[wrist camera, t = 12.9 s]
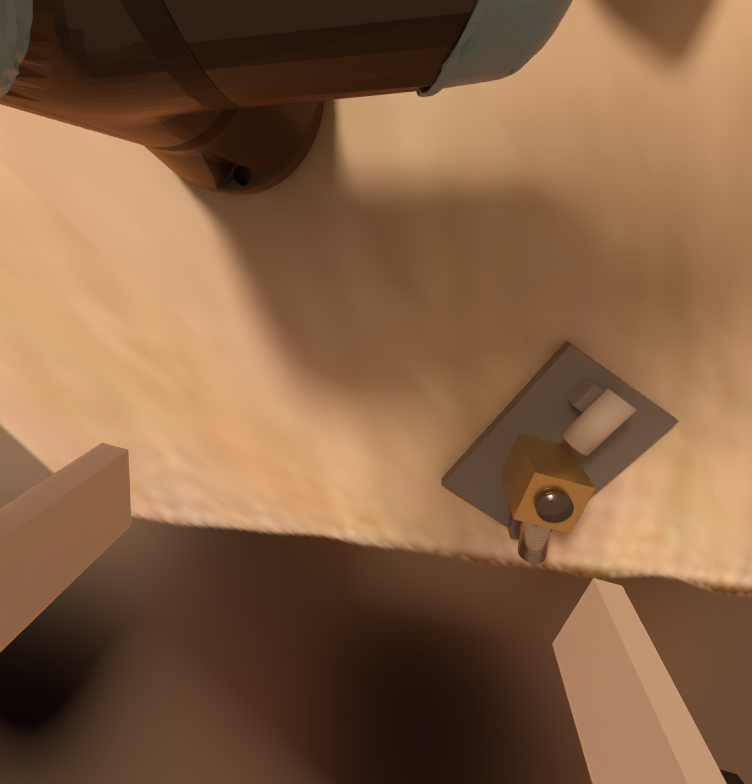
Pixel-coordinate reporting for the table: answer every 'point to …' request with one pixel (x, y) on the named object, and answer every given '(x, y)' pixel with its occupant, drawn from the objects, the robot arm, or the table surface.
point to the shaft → (529, 539)
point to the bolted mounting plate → (562, 428)
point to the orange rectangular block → (545, 484)
